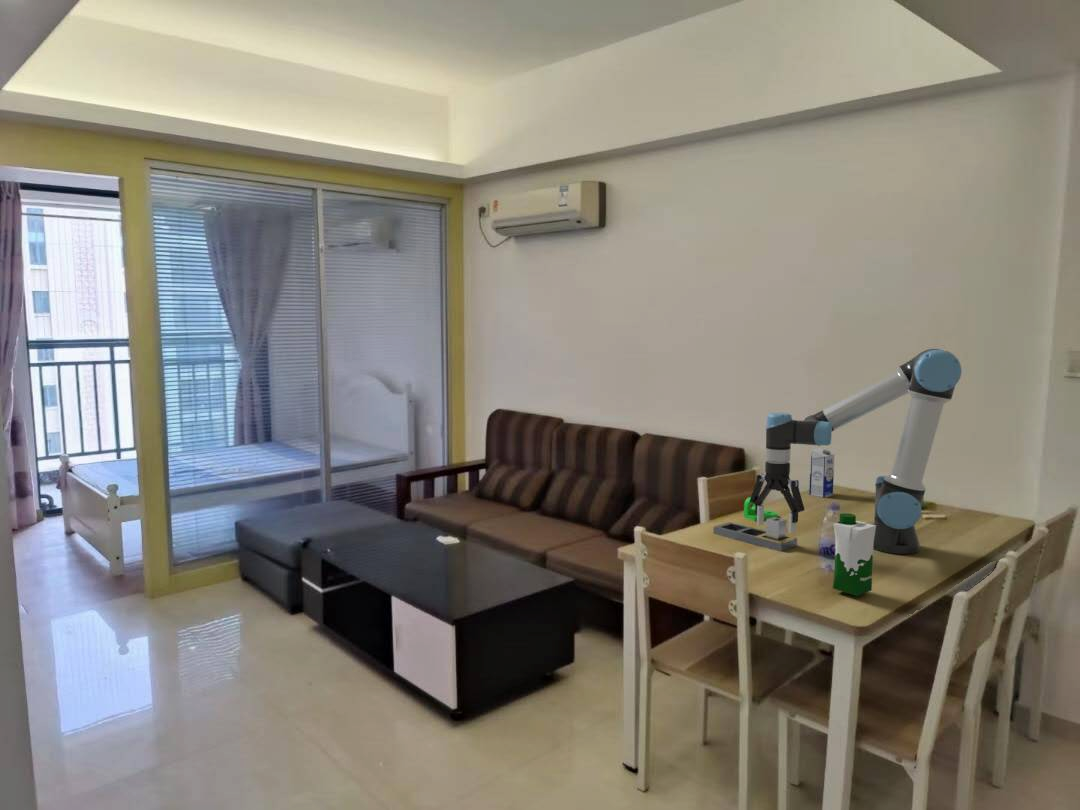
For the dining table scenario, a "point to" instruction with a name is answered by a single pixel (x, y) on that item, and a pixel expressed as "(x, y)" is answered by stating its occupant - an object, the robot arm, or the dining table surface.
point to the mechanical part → (750, 511)
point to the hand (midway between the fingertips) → (775, 528)
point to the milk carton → (821, 473)
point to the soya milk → (853, 555)
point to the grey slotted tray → (753, 536)
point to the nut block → (776, 528)
